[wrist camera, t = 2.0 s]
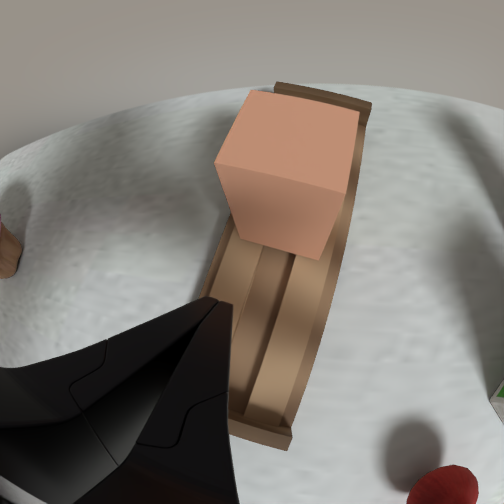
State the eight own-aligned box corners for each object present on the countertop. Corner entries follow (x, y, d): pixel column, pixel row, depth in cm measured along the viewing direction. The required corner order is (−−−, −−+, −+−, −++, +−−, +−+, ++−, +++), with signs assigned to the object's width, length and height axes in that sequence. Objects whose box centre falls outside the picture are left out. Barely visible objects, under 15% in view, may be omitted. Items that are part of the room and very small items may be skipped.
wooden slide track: (285, 434, 18) (287, 451, 14) (172, 394, 20) (151, 401, 16) (363, 129, 26) (371, 102, 22) (277, 109, 28) (276, 81, 24)
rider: (317, 264, 20) (345, 194, 11) (241, 242, 21) (214, 162, 12) (332, 203, 22) (359, 111, 12) (262, 185, 23) (250, 89, 13)
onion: (426, 512, 14) (465, 549, 6) (380, 504, 15) (414, 551, 7) (461, 460, 15) (513, 484, 7) (418, 448, 16) (469, 479, 9)
